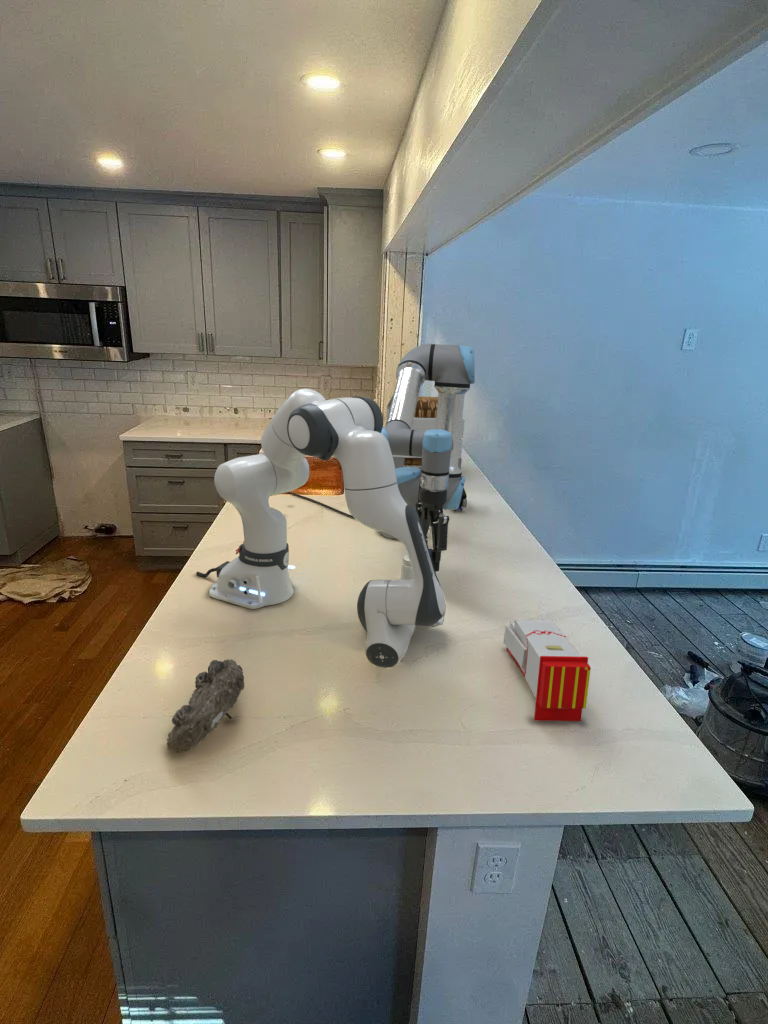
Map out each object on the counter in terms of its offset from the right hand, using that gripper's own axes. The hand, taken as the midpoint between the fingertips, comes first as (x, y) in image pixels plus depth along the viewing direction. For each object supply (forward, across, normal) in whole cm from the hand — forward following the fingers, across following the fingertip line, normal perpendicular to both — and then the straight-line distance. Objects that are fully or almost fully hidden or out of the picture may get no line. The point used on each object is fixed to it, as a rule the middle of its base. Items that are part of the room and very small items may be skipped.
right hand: (427, 566), depth 160 cm
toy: (+7, +46, 0) cm, 47 cm away
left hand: (+1, +11, -12) cm, 17 cm away
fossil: (+8, +30, -66) cm, 73 cm away
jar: (+7, +12, -13) cm, 19 cm away
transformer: (+5, -104, +60) cm, 120 cm away
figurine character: (+6, -55, +48) cm, 73 cm away
